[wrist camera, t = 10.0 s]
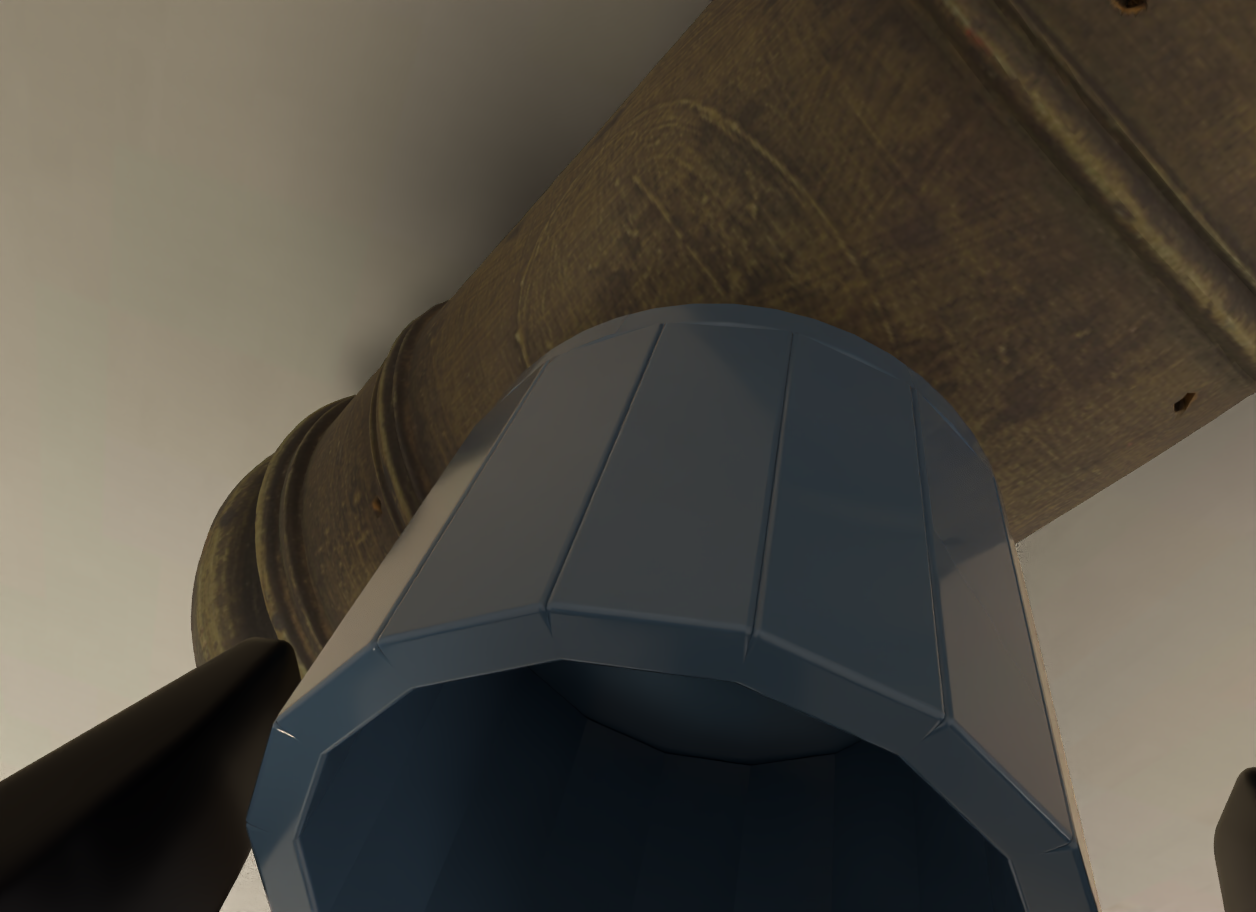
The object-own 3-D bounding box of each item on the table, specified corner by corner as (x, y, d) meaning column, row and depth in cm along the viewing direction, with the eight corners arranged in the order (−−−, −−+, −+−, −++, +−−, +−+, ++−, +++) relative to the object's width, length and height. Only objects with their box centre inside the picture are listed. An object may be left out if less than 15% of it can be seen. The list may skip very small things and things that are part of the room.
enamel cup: (959, 782, 13) (1009, 1238, 8) (486, 714, 14) (322, 1088, 10) (1064, 321, 9) (1231, 690, 5) (437, 281, 11) (160, 558, 6)
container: (533, 1023, 17) (2130, 267, 8) (46, 679, 15) (1411, -995, 5) (639, 646, 26) (1463, 56, 16) (335, 389, 24) (1075, -474, 14)
